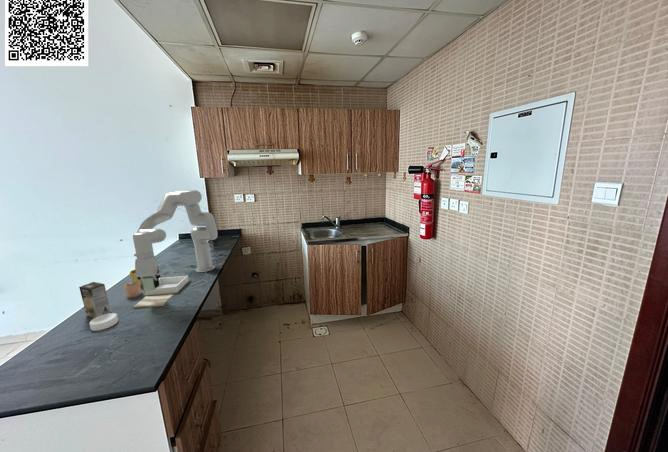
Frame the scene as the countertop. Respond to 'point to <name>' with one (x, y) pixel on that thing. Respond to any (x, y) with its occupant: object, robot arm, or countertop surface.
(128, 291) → the terracotta cup
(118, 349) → the countertop surface
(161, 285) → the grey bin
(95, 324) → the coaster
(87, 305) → the coffee box
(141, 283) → the plant pot
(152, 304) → the pad
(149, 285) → the sage block
